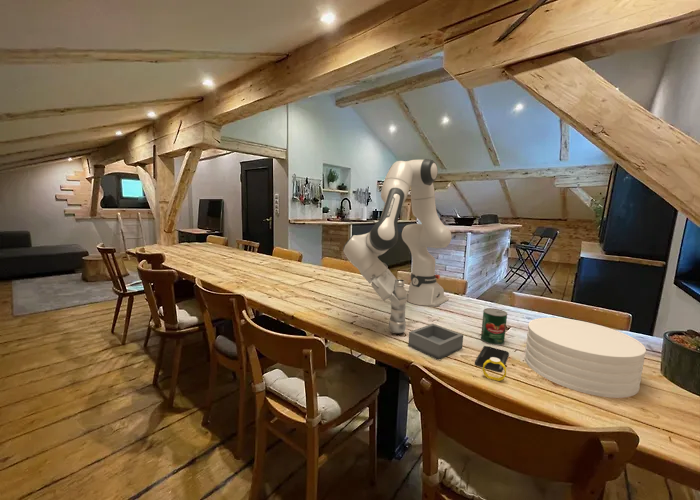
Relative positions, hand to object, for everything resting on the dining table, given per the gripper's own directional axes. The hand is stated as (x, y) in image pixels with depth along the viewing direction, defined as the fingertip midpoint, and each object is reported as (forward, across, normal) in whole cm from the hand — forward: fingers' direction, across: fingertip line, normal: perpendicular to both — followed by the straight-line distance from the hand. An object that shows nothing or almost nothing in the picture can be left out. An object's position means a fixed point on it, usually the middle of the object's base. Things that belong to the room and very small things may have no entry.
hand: (400, 300), depth 117 cm
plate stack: (+48, -9, -30) cm, 58 cm away
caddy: (+19, -8, 0) cm, 20 cm away
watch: (+30, -23, -12) cm, 40 cm away
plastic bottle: (+8, 0, +9) cm, 13 cm away
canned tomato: (+33, +5, -14) cm, 36 cm away
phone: (+32, -10, -13) cm, 36 cm away
